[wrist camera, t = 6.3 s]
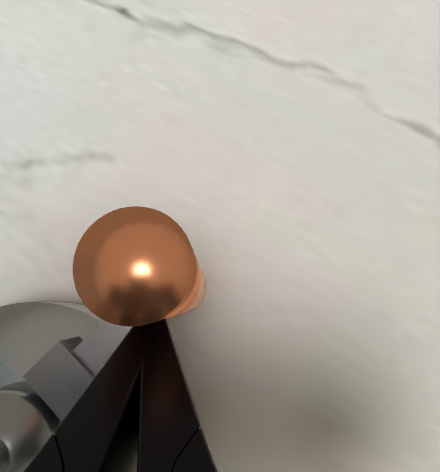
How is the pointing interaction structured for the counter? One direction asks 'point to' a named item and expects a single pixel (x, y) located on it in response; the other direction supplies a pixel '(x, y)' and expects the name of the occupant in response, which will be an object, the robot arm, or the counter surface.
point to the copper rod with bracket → (119, 295)
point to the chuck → (20, 362)
